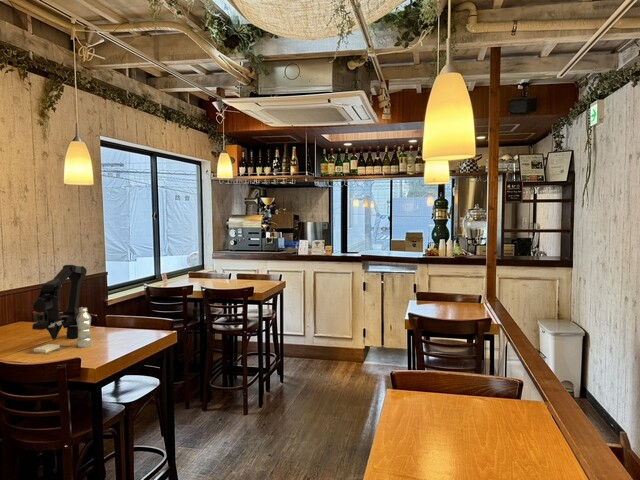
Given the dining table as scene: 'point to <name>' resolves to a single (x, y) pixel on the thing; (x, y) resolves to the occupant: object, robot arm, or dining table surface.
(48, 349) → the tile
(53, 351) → the board
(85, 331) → the plastic bottle
